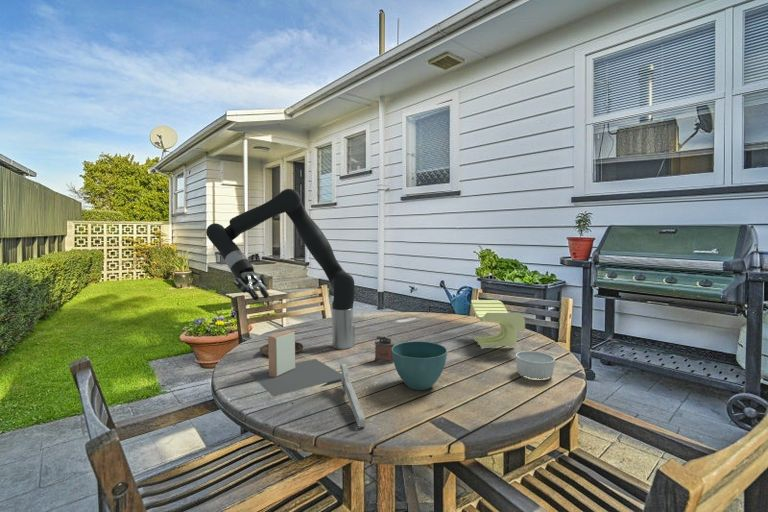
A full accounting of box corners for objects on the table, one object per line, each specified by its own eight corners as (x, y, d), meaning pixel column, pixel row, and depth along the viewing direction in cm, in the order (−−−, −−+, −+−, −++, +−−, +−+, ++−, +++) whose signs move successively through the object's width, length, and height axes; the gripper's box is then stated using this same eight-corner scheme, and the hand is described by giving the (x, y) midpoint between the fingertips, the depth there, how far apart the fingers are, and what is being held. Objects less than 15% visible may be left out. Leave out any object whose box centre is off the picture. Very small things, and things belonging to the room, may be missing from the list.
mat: (315, 361, 151) (315, 358, 151) (347, 380, 132) (347, 377, 132) (248, 375, 136) (248, 373, 136) (273, 399, 117) (273, 396, 117)
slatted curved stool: (524, 355, 159) (525, 312, 158) (485, 355, 160) (486, 312, 158) (503, 335, 189) (504, 300, 188) (470, 335, 190) (471, 299, 188)
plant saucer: (292, 362, 150) (292, 355, 150) (251, 359, 154) (251, 352, 154) (309, 349, 168) (309, 342, 168) (272, 347, 171) (272, 340, 171)
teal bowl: (432, 401, 115) (432, 361, 115) (381, 388, 125) (381, 351, 124) (454, 381, 131) (455, 346, 130) (407, 371, 140) (408, 338, 140)
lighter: (395, 361, 152) (395, 336, 151) (391, 363, 149) (392, 338, 148) (377, 358, 155) (377, 334, 154) (373, 361, 152) (373, 336, 151)
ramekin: (556, 385, 128) (556, 364, 128) (514, 379, 133) (514, 360, 133) (553, 371, 141) (553, 353, 140) (515, 367, 145) (515, 349, 145)
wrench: (358, 439, 100) (339, 383, 128) (365, 438, 100) (344, 382, 129) (359, 411, 98) (339, 360, 127) (366, 410, 99) (345, 360, 127)
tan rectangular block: (268, 375, 133) (268, 336, 133) (288, 366, 142) (288, 329, 141) (276, 377, 132) (275, 337, 131) (295, 368, 141) (295, 330, 140)
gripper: (228, 259, 142) (252, 294, 137) (257, 257, 155) (281, 289, 150) (219, 272, 145) (242, 307, 140) (248, 269, 157) (271, 301, 152)
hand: (262, 297), depth 145 cm, fingers open, 4 cm apart
